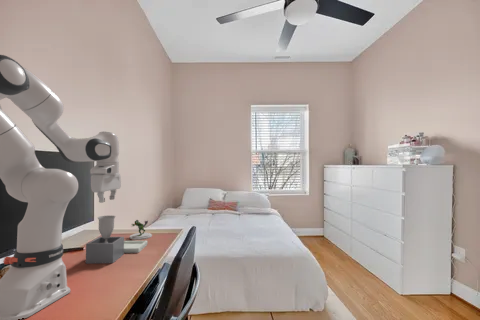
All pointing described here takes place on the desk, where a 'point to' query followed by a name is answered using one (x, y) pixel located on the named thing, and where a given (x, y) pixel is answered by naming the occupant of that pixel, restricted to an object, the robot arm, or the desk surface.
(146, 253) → the desk surface
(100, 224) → the chalice
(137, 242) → the tray
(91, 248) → the box
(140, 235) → the monster figurine
